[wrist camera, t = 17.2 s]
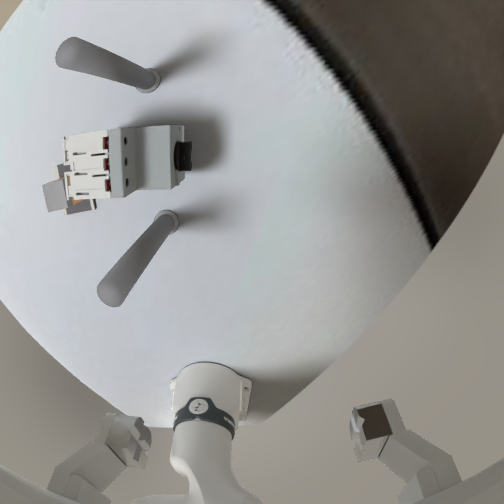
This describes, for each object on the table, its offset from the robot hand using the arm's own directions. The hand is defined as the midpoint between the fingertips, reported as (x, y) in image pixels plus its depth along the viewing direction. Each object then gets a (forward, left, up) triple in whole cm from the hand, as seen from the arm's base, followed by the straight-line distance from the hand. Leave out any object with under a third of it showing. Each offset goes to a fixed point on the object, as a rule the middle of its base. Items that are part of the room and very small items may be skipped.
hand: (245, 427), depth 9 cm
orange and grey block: (+5, +30, -37) cm, 48 cm away
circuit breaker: (+9, +14, -38) cm, 41 cm away
